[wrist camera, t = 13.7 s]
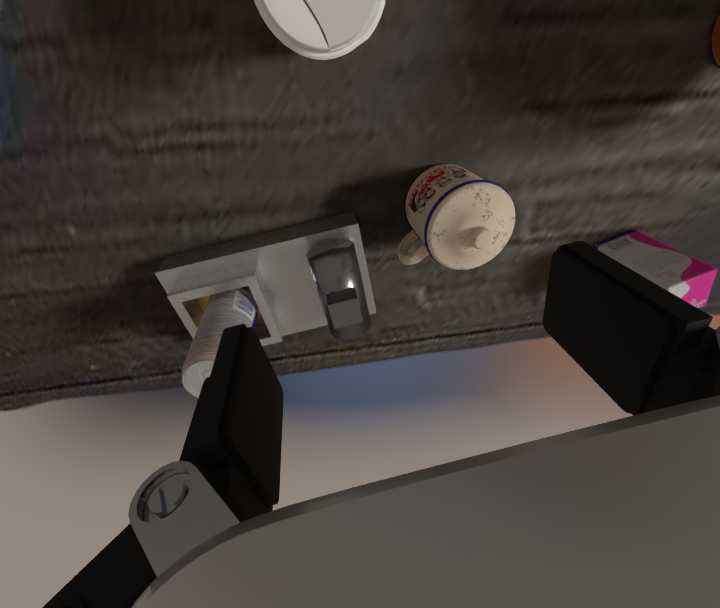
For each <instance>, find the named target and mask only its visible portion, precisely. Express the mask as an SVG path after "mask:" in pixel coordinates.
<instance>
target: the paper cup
mask: <svg viewBox="0 0 720 608" xmlns="http://www.w3.org/2000/svg"><path fill="white" fill-rule="evenodd" d="M254 2H255V4H256V6H257V9H258V11H259V13H260V15H261V17H262V18H263V20H264V22H265V23H266V25H267V26H268V28H269V29H270V30H271V31H272V33H273V34H274V35H275V36H276V37H277V38H278V39H279V40H280V41H281V42H282V43H283V44H284V45H285V46H287V47H288V48H290V49H291V50H293V51H294V52H296V53H298V54H300V55H302V56H305V57H309V58H312V59H322V60H325V59H333V58H337V57H340V56H343V55H345V54H347V53H349V52H350V51H352V50H353V49H355V48H356V47H357V46H358V45H360V44H361V43H363V42H364V41H365V40H367V39H368V38H369V37H370V36H371V34H372V33H373V31H374V30H375V28H376V26H377V24H378V22H379V20H380V18H381V15H382V12H383V9H384V6H385V0H254Z"/></svg>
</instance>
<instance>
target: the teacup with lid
mask: <svg viewBox="0 0 720 608" xmlns="http://www.w3.org/2000/svg"><path fill="white" fill-rule="evenodd" d="M405 209H406V215H407V219H408V221H409V223H410V225H411V226H412V228H413V230H412V231H411V232H410V233H409V234H407V235H406V236H405V237H404V239H403V240H402V241H401V243H400V245H399V248H398V257H399V259H400V260H401V262H402V263H404V264H406V265H412V264H415V263H418V262H420V261H421V260H423V259H424V258H425V257H427V256H428V255H429V254H430V255H431V257H432V258H433V259H434V260H435V261H436V262H437V263H439V264H441V265H442V266H445V267H447V268H451V269H456V270H465V269H472V268H475V267H478V266H481V265H483V264H485V263H486V262H488V261H490V260H491V259H492V258H494V257H495V256H496V255H497V254H498V253H499V252H500V251H501V250H502V249H503V248H504V246H505V245H506V244H507V242H508V240H509V238H510V236H511V234H512V231H513V228H514V223H515V209H514V205H513V202H512V199H511V197H510V195H509V194H508V193H507V191H506V190H505V189H504V188H503V187H501V186H500V185H498V184H497V183H494V182H492V181H488V180H484V179H482V178H480V177H478V176H476V175H475V174H473V173H471V172H469V171H468V170H466V169H464V168H462V167H460V166H458V165H454V164H440V165H436V166H434V167H431V168H429V169H428V170H426V171H425V172H423V173H422V174H421V175H420V176H419V177H418V178H417V179H416V180H415V181H414V183H413V184H412V186H411V188H410V189H409V192H408V195H407V198H406V205H405ZM419 238H421V239H422V241H423V242H424V243H425V244H424V245H423V246H421V247H420V248H419V249H418V250H416V251H415V252H413V253H411V254H408V255H407V252H408V249H409V248H410V246H411V245H412V244H413V243H414V242H415V241H416V240H417V239H419Z"/></svg>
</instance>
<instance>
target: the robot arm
mask: <svg viewBox="0 0 720 608" xmlns="http://www.w3.org/2000/svg"><path fill="white" fill-rule="evenodd" d="M712 318H713V317H712V316H710V315H708V314H707V313H705V312H703V311H702V310H700V309H698V308H696V307H695V306H693V305H691V304H690V303H688V302H686V301H684V300H683V299H681V298H679V297H678V296H676V295H674V294H672V293H671V292H669V291H667V290H666V289H664V288H662V287H660V286H659V285H657V284H655V283H654V282H652V281H650V280H648V279H647V278H645V277H643V276H642V275H640V274H638V273H636V272H635V271H633V270H631V269H630V268H628V267H626V266H624V265H623V264H621V263H619V262H618V261H616V260H614V259H612V258H611V257H609V256H607V255H606V254H604V253H602V252H600V251H599V250H597V249H595V248H594V247H592V246H590V245H588V244H587V243H585V242H583V241H577V242H573V243H569V244H565V245H561V246H560V247H559V248H558V249H557V251H556V252H554V254H553V256H552V261H551V268H550V275H549V281H548V288H547V295H546V301H545V308H544V315H543V326H544V328H545V330H546V331H547V332H548V333H549V334H550V335H551V337H552V338H553V339H554V340H555V341H556V342H557V343H558V344H559V345H560V346H561V347H562V348H563V349H564V350H565V351H566V352H567V353H568V354H569V355H570V356H571V357H572V358H573V359H574V360H575V361H576V362H577V363H578V364H579V365H580V366H581V367H582V368H583V369H584V371H585V372H587V374H588V375H589V376H590V377H591V378H592V379H593V380H594V381H595V382H596V383H597V384H598V385H599V386H600V387H601V388H602V389H603V390H604V391H605V392H606V393H607V394H608V395H609V396H610V397H611V398H612V399H613V400H614V401H615V402H616V403H617V405H618V406H620V407H621V409H623V410H624V411H625V412H627V413H631V414H633V416H630V417H626V418H623V419H618V420H615V421H610V422H607V423H602V424H598V425H595V426H590V427H586V428H582V429H578V430H574V431H570V432H566V433H563V434H559V435H555V436H551V437H547V438H543V439H539V440H535V441H531V442H527V443H523V444H519V445H515V446H512V447H508V448H504V449H500V450H496V451H492V452H488V453H484V454H480V455H476V456H473V457H469V458H465V459H461V460H457V461H453V462H449V463H446V464H441V465H438V466H434V467H430V468H426V469H423V470H419V471H415V472H411V473H408V474H403V475H399V476H396V477H392V478H388V479H385V480H380V481H377V482H373V483H369V484H365V485H361V486H357V487H354V488H350V489H346V490H343V491H339V492H336V493H332V494H328V495H325V496H321V497H318V498H314V499H311V500H307V501H303V502H300V503H296V504H293V505H289V506H286V507H283V508H280V509H277V510H274V511H272V508H273V505H274V504H277V503H278V500H279V487H280V464H281V463H280V462H281V440H282V418H283V390H282V387H281V385H280V382H279V380H278V378H277V376H276V374H275V372H274V370H273V368H272V366H271V363H270V361H269V359H268V357H267V355H266V353H265V351H264V349H263V347H262V345H261V343H260V340H259V338H258V336H257V334H256V332H255V330H254V328H253V327H247V326H246V325H245V324H240V325H236V326H231V327H227V328H225V329H224V330H223V333H222V336H221V340H220V343H219V347H218V350H217V354H216V357H215V361H214V364H213V368H212V371H211V374H210V377H207V378H206V379H205V380H204V382H203V385H202V388H201V392H200V395H199V398H198V402H197V405H196V408H195V411H194V414H193V418H192V421H191V425H190V428H189V431H188V434H187V437H186V441H185V444H184V447H183V451H182V454H181V457H180V460H179V461H177V462H172V463H170V464H167V465H165V466H163V467H161V468H160V469H159V470H157V471H155V472H154V473H153V474H151V475H150V476H149V477H148V478H147V479H146V480H145V481H144V482H143V483H142V485H141V486H140V487H139V489H138V490H137V492H136V493H135V495H134V497H133V499H132V502H131V504H130V508H129V514H128V515H129V519H130V524H129V525H128V526H127V527H126V528H125V529H124V530H123V531H122V532H121V533H120V534H119V535H118V536H117V537H115V538H114V539H113V540H112V541H111V542H110V543H109V544H108V545H107V546H106V547H105V548H104V549H103V550H102V551H101V552H100V553H99V554H98V555H97V556H96V557H95V558H94V559H93V560H91V561H90V562H89V563H88V564H87V565H86V566H85V567H84V568H83V569H82V570H81V571H80V572H79V573H78V574H77V575H76V576H75V577H74V578H73V579H72V580H71V581H70V582H69V583H68V584H66V585H65V586H64V587H63V588H62V589H61V590H60V591H59V592H58V593H57V594H56V595H55V596H54V597H53V598H52V599H51V600H50V601H49V602H48V603H47V604H46V605H45V606H44V607H42V608H720V326H719V327H718V328H717V329H716V330H714V329H712V328H710V327H709V324H710V322H711V320H712Z"/></svg>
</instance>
